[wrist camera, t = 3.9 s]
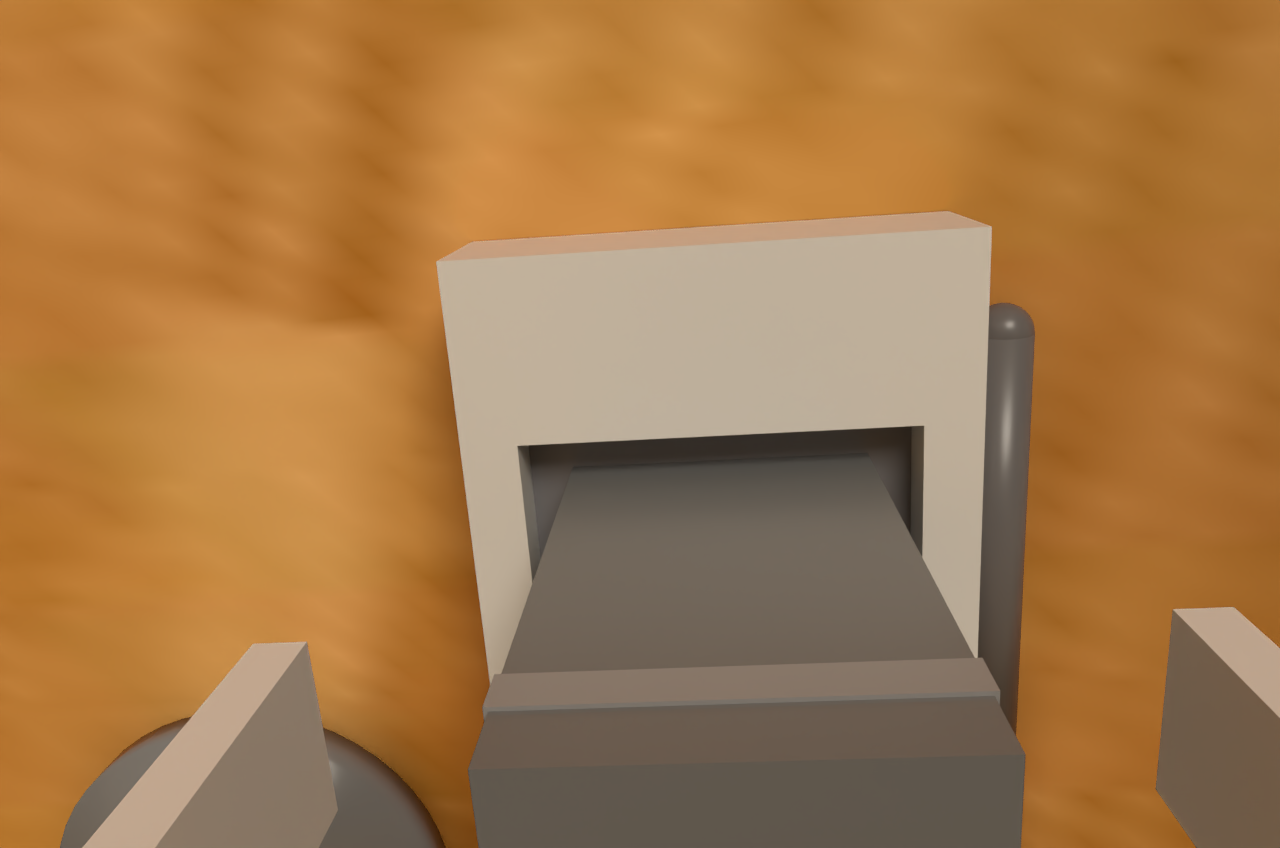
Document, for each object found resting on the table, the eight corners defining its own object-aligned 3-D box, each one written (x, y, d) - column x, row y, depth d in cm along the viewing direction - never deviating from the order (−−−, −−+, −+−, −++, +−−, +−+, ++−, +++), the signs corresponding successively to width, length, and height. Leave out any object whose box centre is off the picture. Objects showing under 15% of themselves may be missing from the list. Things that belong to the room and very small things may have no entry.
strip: (472, 241, 17) (426, 267, 14) (1029, 205, 16) (1102, 224, 13) (582, 1186, 23) (565, 1340, 20) (986, 1186, 23) (1030, 1346, 20)
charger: (569, 464, 16) (462, 765, 9) (870, 450, 16) (1031, 749, 8) (594, 722, 18) (519, 1175, 10) (871, 713, 17) (1009, 1176, 10)
